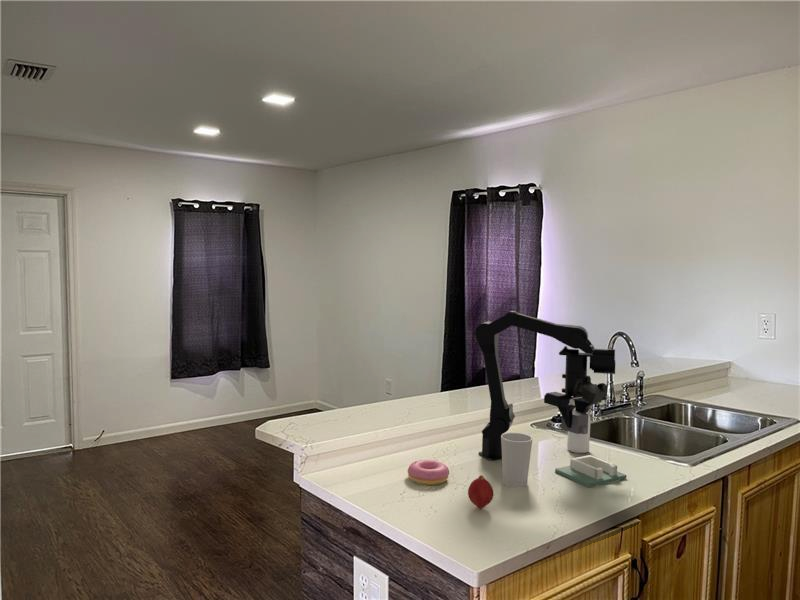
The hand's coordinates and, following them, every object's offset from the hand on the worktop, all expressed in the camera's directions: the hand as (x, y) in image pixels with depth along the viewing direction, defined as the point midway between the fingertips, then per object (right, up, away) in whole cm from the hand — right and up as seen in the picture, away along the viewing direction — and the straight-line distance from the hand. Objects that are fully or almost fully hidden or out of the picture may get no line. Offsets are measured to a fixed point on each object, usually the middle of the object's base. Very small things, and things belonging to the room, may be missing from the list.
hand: (574, 426), depth 166 cm
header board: (+3, -12, -6) cm, 14 cm away
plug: (0, -1, 0) cm, 1 cm away
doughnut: (-41, -12, -11) cm, 44 cm away
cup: (-19, -12, -12) cm, 26 cm away
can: (+6, -11, +15) cm, 20 cm away
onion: (-30, -13, -29) cm, 44 cm away
